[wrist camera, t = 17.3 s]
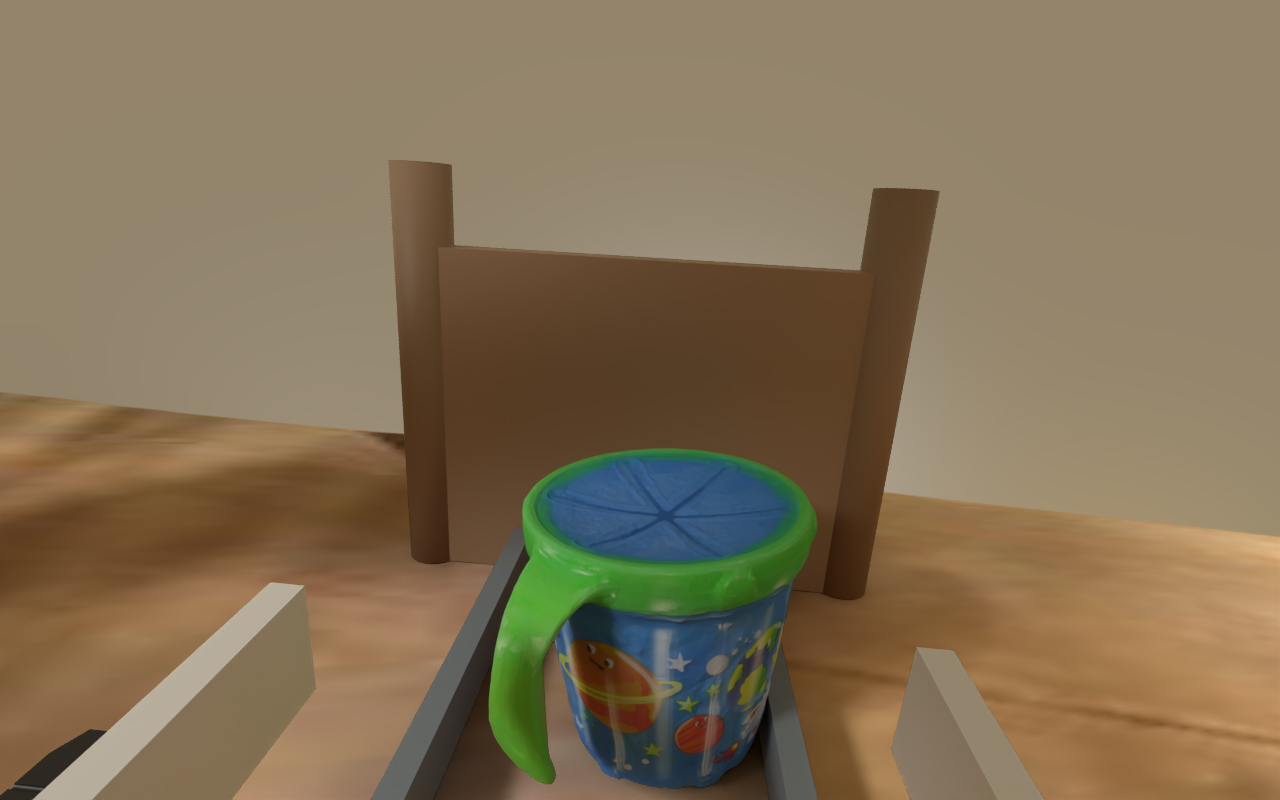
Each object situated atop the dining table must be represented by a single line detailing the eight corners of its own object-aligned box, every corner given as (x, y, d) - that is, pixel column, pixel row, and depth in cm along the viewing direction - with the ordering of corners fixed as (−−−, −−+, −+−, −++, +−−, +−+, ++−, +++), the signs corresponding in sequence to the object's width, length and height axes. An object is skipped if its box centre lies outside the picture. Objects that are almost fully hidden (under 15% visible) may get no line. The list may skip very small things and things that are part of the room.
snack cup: (692, 590, 35) (694, 416, 32) (875, 685, 27) (898, 471, 24) (429, 758, 24) (396, 520, 21) (614, 984, 17) (601, 670, 14)
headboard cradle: (163, 860, 19) (-14, 89, 13) (423, 535, 39) (404, 163, 33) (1044, 957, 18) (1329, 160, 12) (856, 572, 38) (925, 193, 31)
